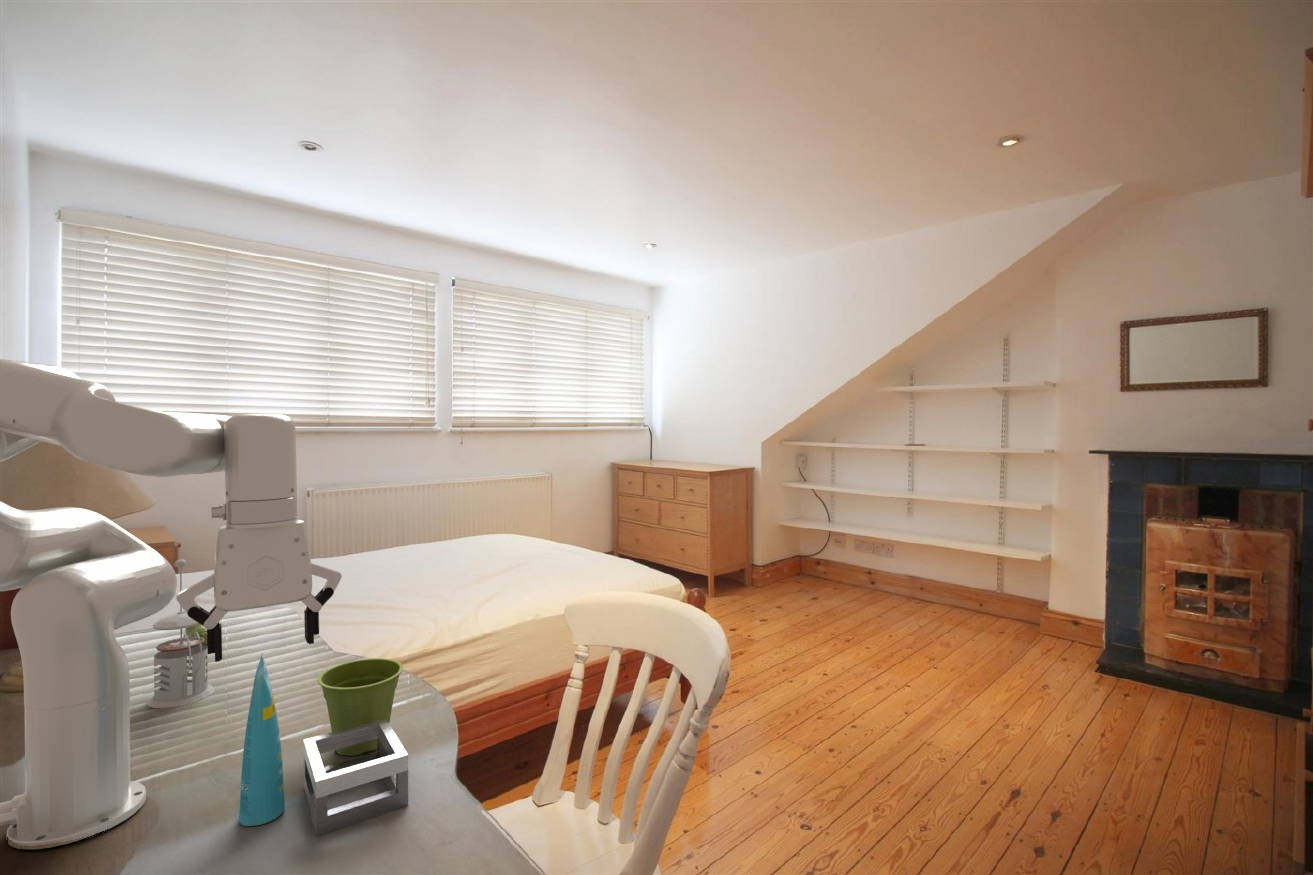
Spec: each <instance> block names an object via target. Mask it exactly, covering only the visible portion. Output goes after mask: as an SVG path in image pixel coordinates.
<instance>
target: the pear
mask: <svg viewBox="0 0 1313 875" xmlns="http://www.w3.org/2000/svg"><path fill="white" fill-rule="evenodd" d="M195 631H196V632H197V633H198V634H199V637H202V638H205V639H206V640H205V642H204V643H203V644H202V645H207V629H206V628H205V627H204V626H203V625H201V624H199V625H196V626H193V627H189V628H184V632H185V633H184V634H186V635H187V637H192V636H193V637H194V633H195ZM196 637H198V636H197V634H196Z"/></svg>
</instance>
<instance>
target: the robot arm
mask: <svg viewBox="0 0 1313 875" xmlns="http://www.w3.org/2000/svg"><path fill="white" fill-rule="evenodd" d="M296 433H297V432H296V425H295V422H294V420H293V419H292V418H291V417H290V416H287V415H284V414H278V413H277V414H275V413H274V414H273V413H247V414H244V413H243V414H235V415H233V416H231V415H225V414H224V415H222V414H216V413H215V414H213V413H211V414H210V413H196V412H177V411H176V412H175V411H160V410H159V411H157V410H152V409H147V408H143V407H139V406H134V405H131V404H126V403H122V402H119V401H118V402H117V401H116V399H115V396H114V394H113V393H112V392H111V390H110V389H109V388H107V387H106V386H105V385H103V384H101V383H99V382H95V381H91V380H87V379H82V378H80V376H78V375H77V374H75V373H74V372H72V371H70V370H68V369H67V368H63V367H60V366H56V365H53V364H45V363H37V362H30V361H28V362H27V361H20V360H13V359H12V360H11V359H5V358H0V463H1V462H4V461H6V460H9V459H11V458H12V457H13V458H14V456H16V455H18V454H20V453H22V452H25V451H26V450H28V449H30V448H31V447H34V446H35V445H37V444H39V443H41V442H44V443H48V444H52V445H56V446H59V447H61V448H63V450H65V451H66V452H67V453H69V454H70V455H72V456H73V457H75V458H76V459H78V460H81V461H84V462H86V463H89V464H93V465H95V466H99V467H103V468H109V469H112V470H117V471H121V472H126V473H129V474H134V475H140V476H146V477H152V478H153V477H155V478H167V477H176V476H178V477H179V476H186V475H203V474H213V473H223V472H224V474H225V475H224V482H225V483H224V484H225V486H224V487H225V488H224V490H225V503H222V505H221V504H220V505H218V506H211V519H219V520H220V519H221V520H223V521H225V522H226V523H225V525H222V526H220V527H219V529H218V532H217V536H216V541H215V542H216V543H215V551H214V566H213V569H214V570H213V574H210V575H208V576H207V577H205V578H204V579H201V580H200V581H198V582H196V583H194V584H193V585H190V586H188V587H187V588H184V589H182V591H181V592H180V591H179V592H178V593H177V589H178V588H177V587H178V579H177V578H178V577H177V575H176V571H175V569H174V568H173V566H172V565H171V563H170V562H169V560H167V558H165V557H164V556H163V555H162V554H160V553H159V551H157V550H155V549H154V548H152V547H151V546H149V545H148V544H146V543H145V542H143V541H142V540H140V539H139V538H138V537H136V536H134V535H133V534H132V533H130V532H128V531H127V530H126V529H125V528H122V527H121V526H119V524H117V523H115V522H113V521H112V520H111V519H109V518H108V517H106V516H104V515H103V514H100V513H98V512H96V511H92V510H90V509H87V508H82V507H74V506H65V507H64V506H62V507H61V506H60V507H51V508H43V509H33V510H32V509H31V510H28V509H27V510H26V509H18V508H15V507H12V506H11V505H9V504H6V503H5V502H3V501H1V500H0V592H7V591H12V590H13V591H14V590H17V589H19V591H18V592H17V593H16V595H15V597H14V598H13V600H12V604H11V606H10V607H11V608H10V620H11V625H12V629H13V633H14V636H15V638H16V642H17V646H18V650H19V654H20V659H21V664H22V665H21V666H22V676H23V705H24V784H25V785H24V787H25V788H24V792H23V793H22V794H18V795H14V796H13V797H12V799H10V800H7V801H3V802H0V827H2V826H5V825H9V824H10V825H9V826H8V828H7V831H6V838H7V837H8V838H9V840H11V841H12V842H14V843H16V844H18V845H22V846H24V845H25V846H26V845H27V846H36V845H37V846H38V845H46V844H50V843H51V844H52V843H57V842H58V843H59V842H66V841H70V840H75V839H79V838H82V837H86V836H90V835H93V834H95V833H99V832H102V831H104V832H106V831H108V830H110V829H112V828H114V827H116V826H117V825H120V824H121V823H123V822H124V821H127V820H128V819H129V818H130V817H132V816H133V815H134V814H136V812H138V810H140V809H141V808H142V806H143V805H144V804H145V802H146V798H147V788H146V786H145V785H144V784H142V783H140V782H137V781H134V780H131V707H130V706H131V704H130V698H131V694H130V693H131V690H130V689H131V687H130V686H131V685H130V684H131V683H130V666H129V661H128V657H127V655H126V652H125V651H124V650H123V648H122V646H121V645H120V643H119V642H118V640H117V638H116V637H115V633H114V632H115V631H116V630H118V629H120V628H122V627H125V626H128V625H130V624H133V623H136V622H140V621H141V620H143V619H146V618H149V617H151V616H153V615H155V614H157V613H159V612H161V611H162V610H163V609H164V608H166V607H167V606H168V605H169V604H170V603H171V601H172V600H173V599H174V597H175V595H176V593H177V595H176V601H177V602H178V604H179V605H181V606H182V610H183V611H185V612H186V613H187V614H188V616H189V617H190V618H192V619H193V620H195V621H196V622H198V623H200V624H201V625H203V626H204V627H205V628H206V629H207V650H208V653H207V655H212V654H214V662H215V663H217V662H221V660H223V641H222V640H223V635H222V633H223V632H222V628H223V626H222V623H220V621H221V620H222V619H223V618H224V617H225V616H226V615H227V613H229V612H238V611H245V610H246V611H249V610H252V609H254V610H255V609H260V608H265V607H273V606H280V605H287V604H293V603H296V602H297V603H298V602H301V603H303V604H304V605H305V606H306V608H305V609H304V612H303V613H304V616H303V618H304V620H303V621H304V639H305V641H306V643H307V644H308V645H313V644H315V636H316V635H319V634H320V614H319V613H320V611H322V607H323V606H324V605H325V604H326V603H327V602H328V601H329V600H330V599H331V597H333V595H334V593H335V591H336V589H337V588H338V585H339V583H340V581H341V580H342V576H343V575H342V574H341V572H340V571H338V570H335V569H332V568H328V567H325V566H323V565H319V564H316V563H313V562H312V560H311V559H312V558H311V557H312V556H311V547H310V541H309V534H308V530H307V526H306V523H305V521H304V520H302V519H298V490H297V488H298V482H297V481H298V480H297V479H298V478H297V440H296V438H297V437H296ZM313 576H315V577H319V578H322V579H325V580H326V582H325V585H324V586H323V587H322V589H320V591H318V593H317V594H316V595H313V594H312V591H313ZM210 589H213V599H214V604H215V605H214V606H213V607H212V608H211V609H210V610H209V611H208V610H206V609H205V608H203V607H201V606H200V605H198V603H197V601H196V600H195V598H196V597H198V596H200V595H203V593H205V592H207V591H208V590H210ZM107 829H108V830H107ZM105 830H106V831H105ZM102 833H103V832H102ZM99 834H100V833H99Z"/></svg>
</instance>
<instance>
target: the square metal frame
mask: <svg viewBox="0 0 1313 875" xmlns="http://www.w3.org/2000/svg"><path fill="white" fill-rule="evenodd" d="M374 739H377V749H376V751H377V752H373V753H370V754H366V755H362V756H359V757H355V758H352V759H347V760H345V761H341V762H338V763H334V764H330V765H326V766H324V764H323V760H322V758H321V755H322V754H325V753H329V752H334V751H336V750H337V749H341V748H344V747H348V746H352V745H355V744H359V743H363V742H366V741H370V740H374ZM381 779H383V780H384V782H385V784H386V786H387V788H388V790H387V791H384V792H381V793H378V794H375V795H371V796H368V797H365V798H362V799H359V800H355V801H352V802H350V803H347V804H343V805H340V806H337V807H334V808H331V809H329V808H328V806H329V805H328V796H330V795H333V794H335V793H336V794H337V793H339V792H342V791H345V790H349V789H351V788H355V787H358V786H361V785H362V786H363V785H366V784H369V783H370V782H374V781H377V780H381ZM303 790H304V794H305V798H306V801H307V805H308V808H309V809H308V810H309V814H310V816H311V821H312V825H313V829H314V832H315V837H318V836H322V835H325V834H327V833H329V832H334V831H337V830H339V829H342V828H345V827H348V826H350V825H354V824H357V823H359V822H362V821H366V820H369V819H371V818H374V817H377V816H381V815H383V814H387V813H389V812H390V813H391V812H392V811H395V810H398V809H401V808H404V807H406V806H409V754H408V752H407V750H406V748H404V745H403V744H402V742H401V741H400V739H399V737H398V736H397V734H396V733H395V731H394V729H393V727H392V725H391V724H390V723H388V721H387V719H382V720H378V721H374V722H370V723H367V724H363V725H359V726H355V727H351V728H347V729H343V730H339V731H335V732H332V731H331V732H328V733H323V734H320V735H316V736H312V737H309V738H304V739H303Z"/></svg>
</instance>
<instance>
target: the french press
mask: <svg viewBox="0 0 1313 875" xmlns="http://www.w3.org/2000/svg"><path fill="white" fill-rule="evenodd" d="M173 565H174V567H175V568H176V567H177V568H178V567H179V592H181V591H183V588H182V587H183V582H182V581H183V580H182V576H183V575H182V572H183V570H182V567H185V566H188V561H187V560H186V559H183V558H182V559H176V561H175V562H174V563H173ZM179 605H180V604H179ZM179 607H180V608H179V611H178V612H174V613H171V614H169V615H165V616H164V617H161V618H160V619H159V620H157V621H156V622H155V623H153V624H152V625H151V626H152V628H153V629H154V630H156V631H174V630H175V631H176V630H177V631H178V630H180V633H179V634H180V637H178V638H176V639H175V638H173V639H170V640H166V641H164V642H162V643H159V644H158V645H157V646H155V648H156V650H157V651H158V652H156V653H155V654H154V655H153V667H157V666H159V667H157V668H154V669H153V674H154V676H153V681H154V684H153V686H154V687H153V688H154V691H153V694H154V695H153V696H152V697H151V698H150V699H149V700H148V701H147V702H146V704H147V707H149V708H150V707H151V708H153V709H166V708H167V709H168V708H174V707H175V708H176V707H180V706H181V707H182V706H185V705H189V704H193V703H195V702H197V701H201V700H203V699H205V698H207V697H210V695H212V694H213V693H214V692H215V691H216V689H215V688H214V686H212V685H211V684H210V683H209V675H208V674H209V669H208V667H209V664H208V660H209V656H208V650H207V645H202V644H203V643H204V642H205V640H206V639H205V638H202V637H199V634H198V633H197V632H196V631H195V633H194V637H193V636H192V637H187V635H186V633H184V634H183V629H185V628H189V627H193V626H196V625H199V624H200V623H198V622H196V621H195V620H193V619H192V618H190V617H189V616H188V614H187V613H186V612H185V610H183V608H182V606H181V605H180V606H179ZM196 634H197V636H198V637H196ZM188 658H189V659H188ZM191 665H192V666H191ZM190 671H192V672H190ZM158 673H160V674H158ZM155 674H157V675H155ZM188 677H189V678H192V679H188ZM158 680H160V681H158ZM155 681H158V682H155ZM156 688H158V689H156Z"/></svg>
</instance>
